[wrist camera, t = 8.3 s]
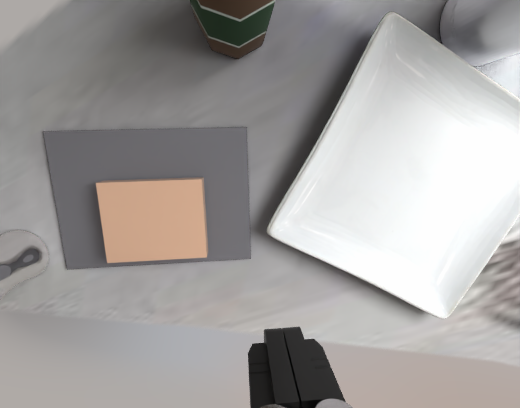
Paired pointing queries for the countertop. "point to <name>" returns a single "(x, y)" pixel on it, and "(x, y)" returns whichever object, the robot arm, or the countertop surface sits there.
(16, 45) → the countertop surface
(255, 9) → the beer bottle
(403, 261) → the square plate
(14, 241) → the beer glass
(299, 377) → the robot arm
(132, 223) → the tile
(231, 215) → the mat
